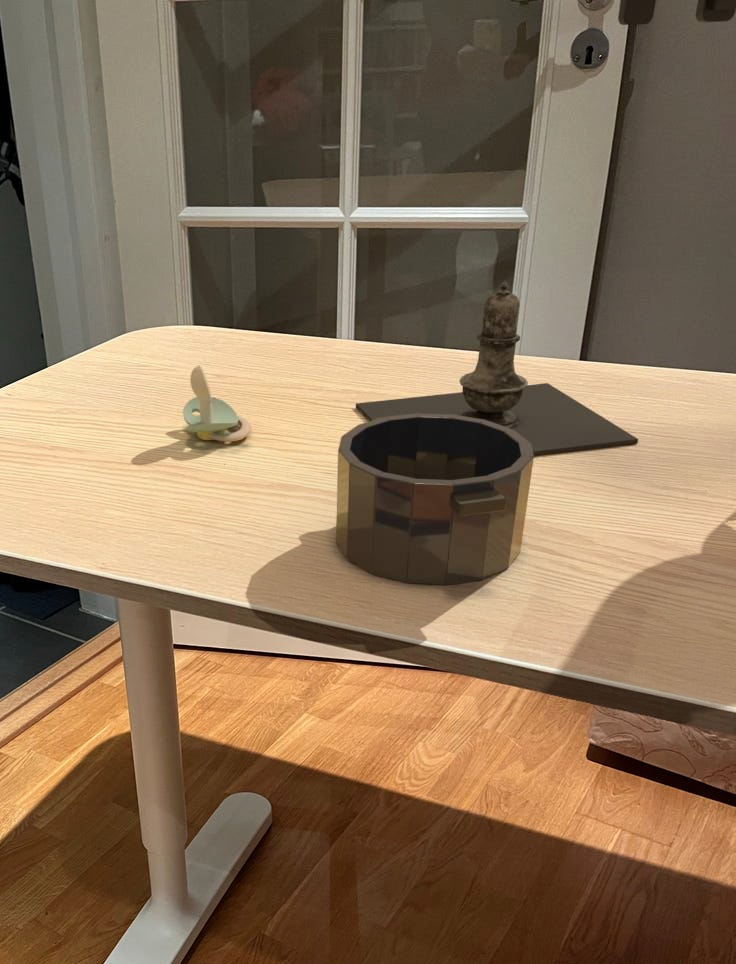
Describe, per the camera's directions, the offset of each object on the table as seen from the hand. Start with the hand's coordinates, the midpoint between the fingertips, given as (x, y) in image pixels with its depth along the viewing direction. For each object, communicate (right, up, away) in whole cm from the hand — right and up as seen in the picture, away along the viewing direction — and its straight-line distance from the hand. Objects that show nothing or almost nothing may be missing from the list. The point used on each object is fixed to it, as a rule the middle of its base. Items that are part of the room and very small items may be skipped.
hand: (671, 23), depth 60 cm
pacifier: (-30, -21, +25) cm, 44 cm away
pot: (-15, -33, +6) cm, 36 cm away
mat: (-6, -20, +25) cm, 32 cm away
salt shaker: (-6, -20, +25) cm, 32 cm away
